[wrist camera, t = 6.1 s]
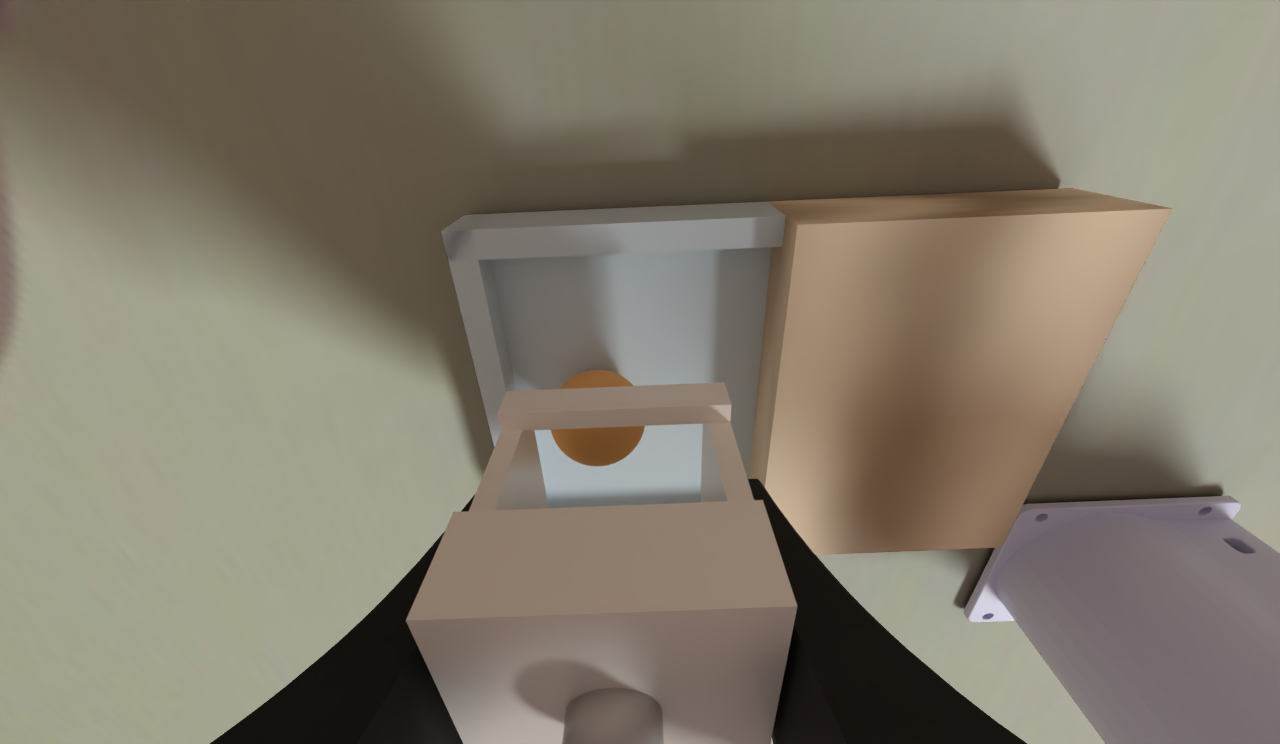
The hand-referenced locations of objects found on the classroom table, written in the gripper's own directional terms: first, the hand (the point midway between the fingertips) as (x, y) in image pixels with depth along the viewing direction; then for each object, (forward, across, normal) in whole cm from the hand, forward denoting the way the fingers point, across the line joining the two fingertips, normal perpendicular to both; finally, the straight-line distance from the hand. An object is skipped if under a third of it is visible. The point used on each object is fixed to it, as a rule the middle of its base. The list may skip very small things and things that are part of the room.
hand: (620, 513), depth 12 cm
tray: (+6, 0, 0) cm, 6 cm away
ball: (+4, +1, 0) cm, 4 cm away
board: (+6, -9, 0) cm, 11 cm away
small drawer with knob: (+2, 0, 0) cm, 2 cm away
